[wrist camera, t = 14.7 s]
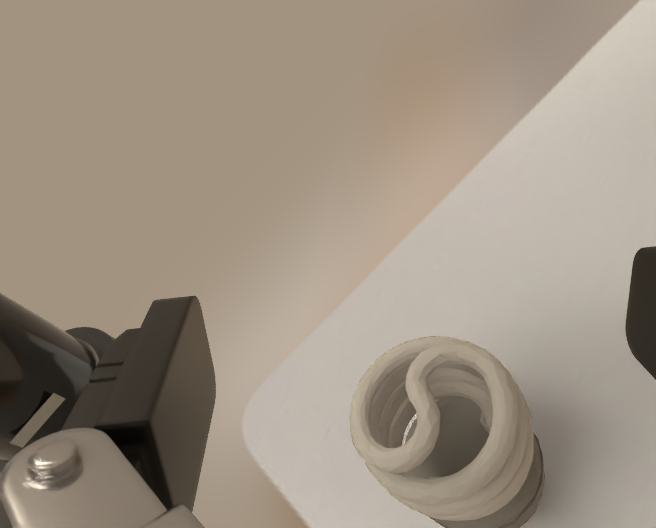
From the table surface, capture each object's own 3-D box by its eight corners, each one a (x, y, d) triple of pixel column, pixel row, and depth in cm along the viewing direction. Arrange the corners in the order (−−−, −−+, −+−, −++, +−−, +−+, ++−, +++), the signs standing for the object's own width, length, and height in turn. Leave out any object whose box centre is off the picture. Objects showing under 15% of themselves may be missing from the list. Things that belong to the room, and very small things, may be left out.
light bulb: (469, 404, 29) (394, 285, 20) (582, 466, 26) (553, 356, 17) (408, 506, 28) (298, 429, 19) (518, 585, 25) (450, 538, 15)
